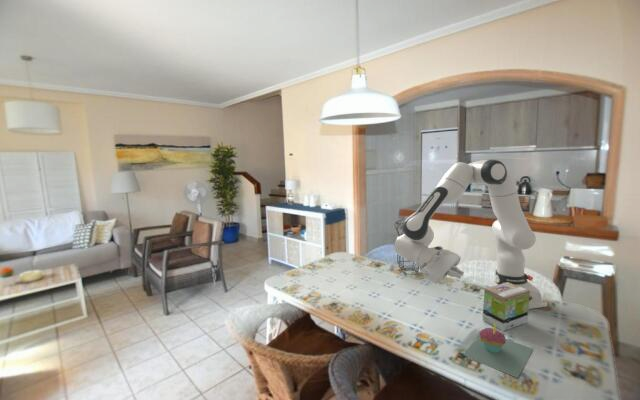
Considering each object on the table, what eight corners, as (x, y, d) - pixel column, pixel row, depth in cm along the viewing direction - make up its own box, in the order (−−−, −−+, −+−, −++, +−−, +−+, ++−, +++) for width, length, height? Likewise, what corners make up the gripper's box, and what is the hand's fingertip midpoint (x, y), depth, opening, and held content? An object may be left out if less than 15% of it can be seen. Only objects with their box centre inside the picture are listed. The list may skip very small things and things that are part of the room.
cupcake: (510, 355, 105) (511, 323, 104) (487, 356, 105) (487, 325, 104) (496, 340, 114) (497, 311, 112) (474, 342, 114) (474, 312, 112)
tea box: (504, 332, 119) (506, 297, 117) (481, 320, 128) (483, 287, 126) (528, 322, 125) (530, 289, 123) (505, 311, 134) (506, 280, 132)
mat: (474, 328, 123) (474, 327, 123) (533, 349, 108) (533, 348, 108) (454, 351, 109) (454, 350, 109) (517, 379, 95) (517, 377, 95)
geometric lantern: (398, 276, 177) (397, 218, 173) (394, 267, 193) (393, 214, 188) (425, 276, 175) (425, 217, 171) (419, 267, 191) (418, 213, 187)
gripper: (418, 263, 117) (452, 281, 109) (441, 244, 131) (474, 258, 122) (415, 276, 120) (448, 294, 111) (438, 256, 133) (470, 270, 124)
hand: (462, 275), depth 117 cm, fingers closed
